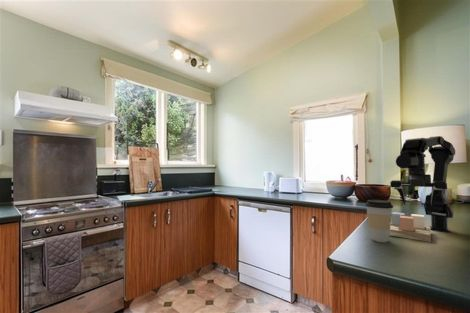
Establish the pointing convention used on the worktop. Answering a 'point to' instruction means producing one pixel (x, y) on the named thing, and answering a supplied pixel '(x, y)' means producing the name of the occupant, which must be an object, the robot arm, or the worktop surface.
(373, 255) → the worktop surface
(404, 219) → the salmon pink block
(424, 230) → the panel
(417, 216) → the cream button
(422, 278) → the worktop surface
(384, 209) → the coffee cup
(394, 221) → the slate-blue button
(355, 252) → the worktop surface
